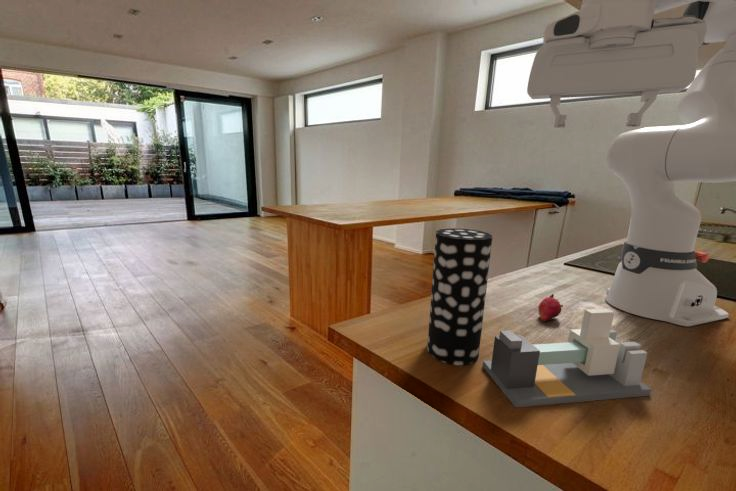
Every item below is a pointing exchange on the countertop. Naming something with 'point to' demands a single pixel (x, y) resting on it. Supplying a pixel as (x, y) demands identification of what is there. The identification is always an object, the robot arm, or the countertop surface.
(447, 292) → the white-spotted black cylinder
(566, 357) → the pale teal rod
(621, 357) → the gray notched block
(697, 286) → the robot arm
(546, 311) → the fruit
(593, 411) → the countertop surface
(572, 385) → the board
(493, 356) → the block
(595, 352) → the sleeve
